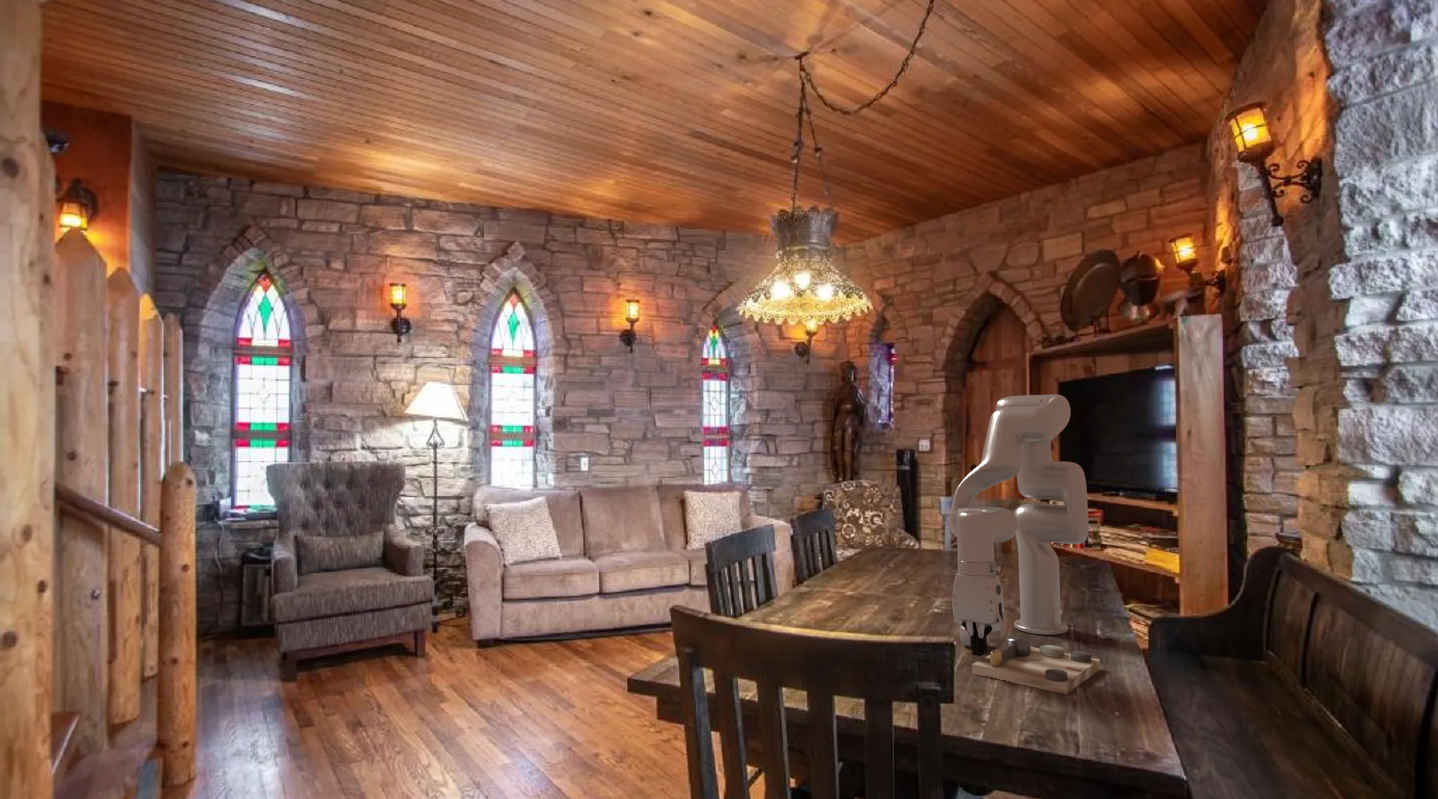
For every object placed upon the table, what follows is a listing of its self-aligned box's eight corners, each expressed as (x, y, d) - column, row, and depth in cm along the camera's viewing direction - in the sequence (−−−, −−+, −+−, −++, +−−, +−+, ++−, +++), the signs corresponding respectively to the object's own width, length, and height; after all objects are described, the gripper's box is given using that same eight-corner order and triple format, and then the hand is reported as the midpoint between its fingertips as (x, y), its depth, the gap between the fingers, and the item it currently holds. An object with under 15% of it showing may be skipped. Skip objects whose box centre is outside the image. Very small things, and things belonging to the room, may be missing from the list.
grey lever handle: (1011, 647, 171) (1011, 634, 171) (1034, 652, 167) (1034, 638, 167) (982, 664, 160) (981, 649, 160) (1005, 668, 156) (1005, 654, 156)
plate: (1011, 652, 175) (1011, 637, 175) (1100, 669, 162) (1099, 653, 162) (972, 673, 161) (972, 657, 161) (1066, 694, 148) (1065, 676, 148)
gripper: (1017, 570, 163) (1020, 657, 162) (952, 562, 173) (954, 644, 172) (1002, 575, 157) (1005, 665, 157) (936, 567, 168) (938, 651, 167)
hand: (979, 654), depth 165 cm, fingers closed
